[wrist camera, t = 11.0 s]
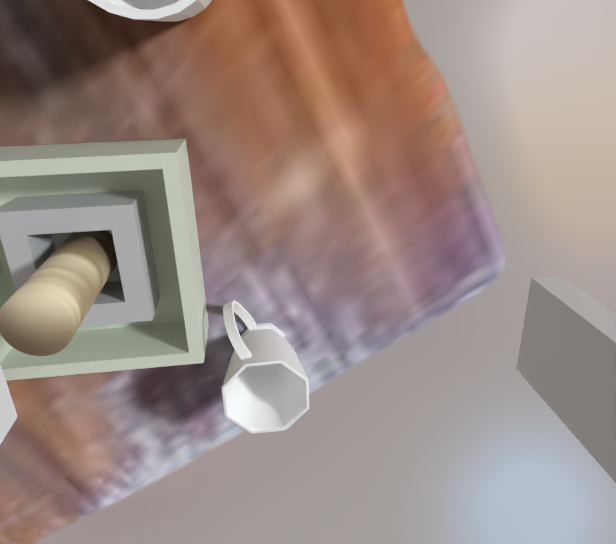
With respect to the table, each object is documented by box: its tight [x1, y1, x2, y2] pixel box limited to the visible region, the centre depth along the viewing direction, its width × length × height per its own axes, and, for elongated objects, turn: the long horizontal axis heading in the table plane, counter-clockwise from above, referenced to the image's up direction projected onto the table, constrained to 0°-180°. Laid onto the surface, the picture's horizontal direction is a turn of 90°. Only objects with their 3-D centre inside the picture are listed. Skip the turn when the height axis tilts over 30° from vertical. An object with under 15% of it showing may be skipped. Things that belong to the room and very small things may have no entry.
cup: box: [222, 300, 309, 434], centre depth 41 cm, size 7×10×8 cm
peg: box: [0, 230, 118, 356], centre depth 34 cm, size 4×4×12 cm
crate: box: [0, 138, 209, 381], centre depth 37 cm, size 16×16×6 cm
